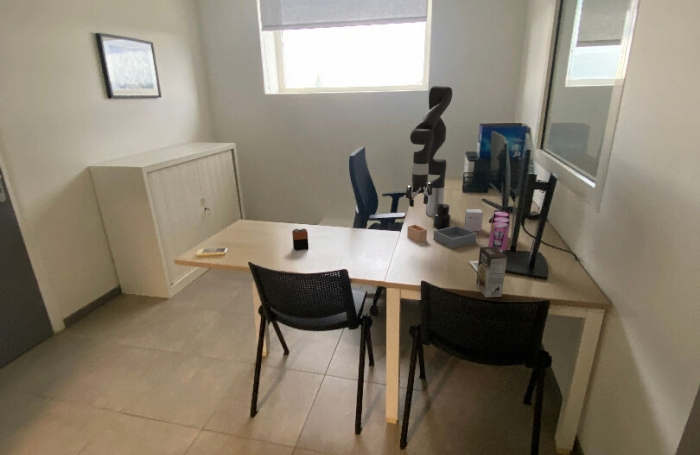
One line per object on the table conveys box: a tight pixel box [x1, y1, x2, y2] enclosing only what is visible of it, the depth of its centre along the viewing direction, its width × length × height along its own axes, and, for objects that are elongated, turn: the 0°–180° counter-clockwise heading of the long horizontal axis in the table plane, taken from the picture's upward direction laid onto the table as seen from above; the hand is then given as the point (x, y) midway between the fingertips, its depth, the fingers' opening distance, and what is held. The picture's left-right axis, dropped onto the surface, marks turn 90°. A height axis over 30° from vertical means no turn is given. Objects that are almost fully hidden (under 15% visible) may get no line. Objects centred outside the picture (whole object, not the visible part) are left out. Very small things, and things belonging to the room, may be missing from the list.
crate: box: [432, 225, 478, 249], centre depth 187 cm, size 13×15×5 cm
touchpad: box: [468, 260, 479, 272], centre depth 157 cm, size 8×15×2 cm, turn 3°
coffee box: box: [475, 246, 508, 298], centre depth 138 cm, size 9×6×16 cm
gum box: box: [487, 209, 511, 251], centre depth 181 cm, size 24×8×14 cm, turn 157°
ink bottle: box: [432, 203, 451, 230], centre depth 205 cm, size 10×9×12 cm
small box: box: [463, 208, 484, 232], centre depth 201 cm, size 8×6×10 cm
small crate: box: [406, 224, 428, 244], centre depth 190 cm, size 9×5×6 cm, turn 30°
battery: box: [291, 228, 309, 252], centre depth 179 cm, size 4×7×10 cm, turn 105°
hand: (418, 205), depth 185 cm, fingers open, 8 cm apart
